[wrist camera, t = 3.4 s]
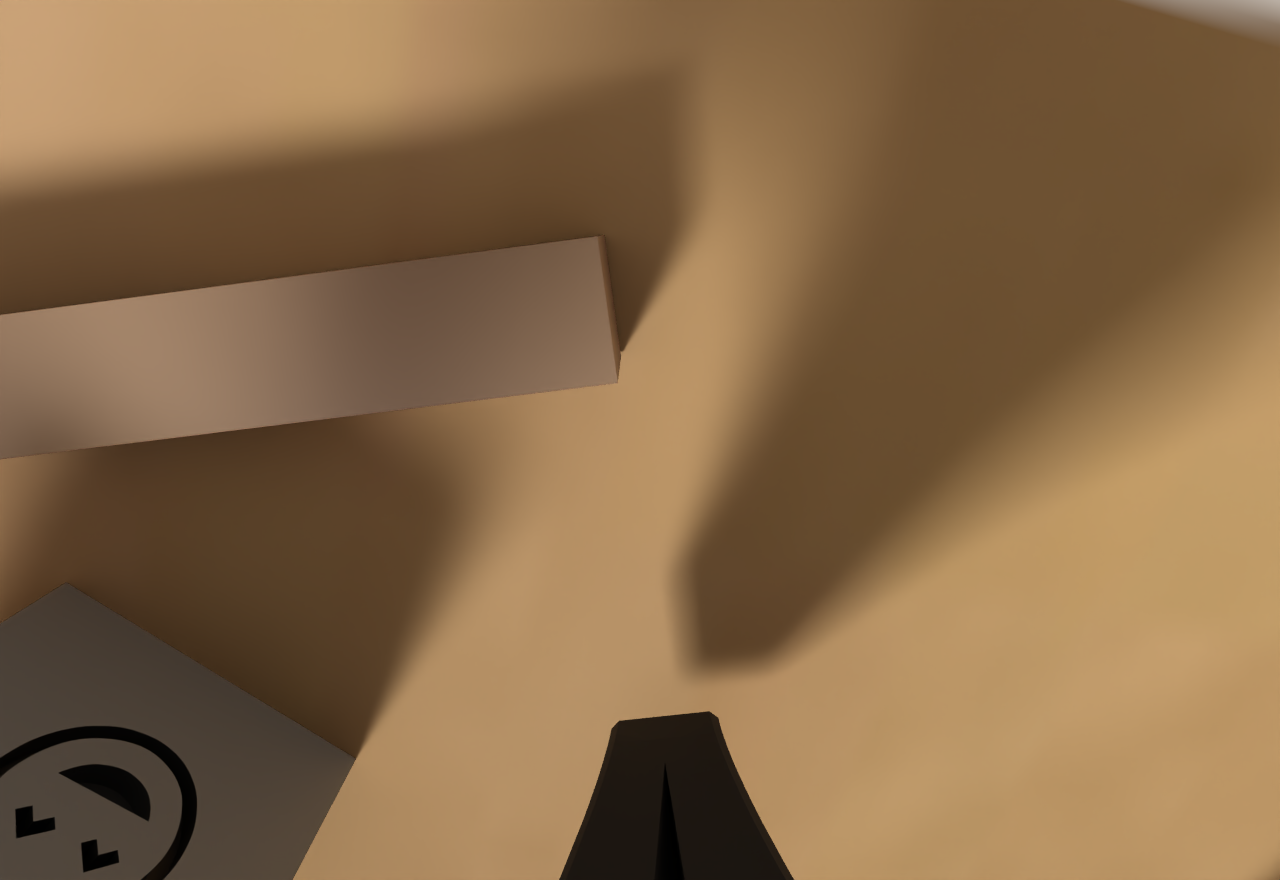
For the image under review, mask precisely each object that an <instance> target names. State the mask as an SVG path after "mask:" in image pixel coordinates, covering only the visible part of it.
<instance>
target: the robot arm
mask: <svg viewBox="0 0 1280 880" xmlns="http://www.w3.org/2000/svg"><path fill="white" fill-rule="evenodd" d="M559 880H794V879H793V877H792V875H791V874H790V872H789V870H788V869H787V867H786V865H785V863H784V861H783V859H782V858H781V856H780V854H779V852H778V850H777V848H776V847H775V845H774V843H773V841H772V839H771V838H770V836H769V834H768V832H767V830H766V828H765V827H764V825H763V823H762V821H761V819H760V817H759V815H758V813H757V811H756V809H755V807H754V805H753V803H752V801H751V799H750V797H749V795H748V793H747V791H746V789H745V787H744V785H743V782H742V780H741V778H740V776H739V774H738V772H737V769H736V767H735V765H734V762H733V760H732V758H731V755H730V753H729V750H728V748H727V745H726V742H725V739H724V736H723V733H722V730H721V727H720V723H719V719H718V717H716V716H715V715H714V714H712V713H711V712H699V713H690V714H680V715H671V716H661V717H652V718H642V719H633V720H623V721H619V722H618V723H617V724H616V725H615V726H614V727H613V728H612V730H611V734H610V739H609V743H608V747H607V750H606V754H605V757H604V761H603V764H602V768H601V771H600V774H599V777H598V780H597V783H596V786H595V789H594V792H593V794H592V797H591V800H590V803H589V806H588V809H587V811H586V814H585V817H584V820H583V822H582V825H581V827H580V830H579V832H578V835H577V837H576V840H575V842H574V845H573V847H572V850H571V852H570V855H569V857H568V860H567V862H566V865H565V867H564V870H563V872H562V875H561V877H560V879H559Z"/></svg>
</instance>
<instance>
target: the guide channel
mask: <svg viewBox="0 0 1280 880" xmlns="http://www.w3.org/2000/svg"><path fill="white" fill-rule="evenodd" d="M620 360H621V353H620V345H619V338H618V331H617V323H616V316H615V308H614V301H613V294H612V286H611V279H610V272H609V264H608V257H607V250H606V242H605V235H599V236H592V237H584V238H577V239H569V240H561V241H554V242H546V243H539V244H531V245H523V246H516V247H508V248H501V249H493V250H485V251H478V252H470V253H463V254H455V255H447V256H440V257H432V258H425V259H417V260H410V261H402V262H394V263H387V264H379V265H372V266H364V267H356V268H349V269H341V270H334V271H326V272H318V273H311V274H303V275H296V276H288V277H280V278H273V279H265V280H258V281H250V282H242V283H235V284H227V285H220V286H212V287H204V288H197V289H189V290H182V291H174V292H166V293H159V294H151V295H144V296H136V297H128V298H121V299H113V300H106V301H98V302H90V303H83V304H75V305H68V306H60V307H52V308H45V309H37V310H30V311H22V312H14V313H7V314H0V459H6V458H14V457H22V456H30V455H39V454H47V453H55V452H63V451H71V450H79V449H87V448H95V447H103V446H111V445H120V444H128V443H136V442H144V441H152V440H160V439H168V438H176V437H184V436H193V435H201V434H209V433H217V432H225V431H233V430H241V429H249V428H257V427H265V426H274V425H282V424H290V423H298V422H306V421H314V420H322V419H330V418H338V417H347V416H355V415H363V414H371V413H379V412H387V411H395V410H403V409H411V408H419V407H428V406H436V405H444V404H452V403H460V402H468V401H476V400H484V399H492V398H501V397H509V396H517V395H525V394H533V393H541V392H549V391H557V390H565V389H573V388H582V387H590V386H598V385H606V384H614V383H618V376H619V368H620Z"/></svg>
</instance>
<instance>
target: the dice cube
mask: <svg viewBox="0 0 1280 880" xmlns="http://www.w3.org/2000/svg"><path fill="white" fill-rule="evenodd" d="M355 760H356V759H355V758H354V757H352V756H350V755H349V754H347V753H346V752H344V751H342V750H341V749H339V748H337V747H336V746H334V745H332V744H331V743H329V742H327V741H326V740H324V739H323V738H321V737H319V736H318V735H316V734H314V733H313V732H311V731H309V730H308V729H306V728H304V727H303V726H301V725H300V724H298V723H296V722H295V721H293V720H291V719H290V718H288V717H286V716H285V715H283V714H281V713H280V712H278V711H277V710H275V709H273V708H272V707H270V706H268V705H267V704H265V703H263V702H262V701H260V700H258V699H257V698H255V697H254V696H252V695H250V694H249V693H247V692H245V691H244V690H242V689H240V688H239V687H237V686H235V685H234V684H232V683H231V682H229V681H227V680H226V679H224V678H222V677H221V676H219V675H217V674H216V673H214V672H212V671H211V670H209V669H207V668H206V667H204V666H203V665H201V664H199V663H198V662H196V661H194V660H193V659H191V658H189V657H188V656H186V655H184V654H183V653H181V652H180V651H178V650H176V649H175V648H173V647H171V646H170V645H168V644H166V643H165V642H163V641H161V640H160V639H158V638H157V637H155V636H153V635H152V634H150V633H148V632H147V631H145V630H143V629H142V628H140V627H138V626H137V625H135V624H134V623H132V622H130V621H129V620H127V619H125V618H124V617H122V616H120V615H119V614H117V613H115V612H114V611H112V610H111V609H109V608H107V607H106V606H104V605H102V604H101V603H99V602H97V601H96V600H94V599H92V598H91V597H89V596H88V595H86V594H84V593H83V592H81V591H79V590H78V589H76V588H74V587H73V586H71V585H69V584H68V583H64V584H63V585H61V586H60V587H58V588H56V589H55V590H53V591H52V592H50V593H48V594H47V595H45V596H44V597H42V598H40V599H39V600H37V601H36V602H34V603H32V604H31V605H29V606H28V607H26V608H24V609H23V610H21V611H20V612H18V613H16V614H15V615H13V616H12V617H10V618H8V619H7V620H5V621H3V622H2V623H0V880H293V878H294V876H295V874H296V872H297V870H298V868H299V866H300V864H301V863H302V861H303V859H304V857H305V855H306V853H307V851H308V849H309V847H310V845H311V844H312V842H313V840H314V838H315V836H316V834H317V832H318V830H319V828H320V826H321V824H322V823H323V821H324V819H325V817H326V815H327V813H328V811H329V809H330V807H331V805H332V804H333V802H334V800H335V798H336V796H337V794H338V792H339V790H340V788H341V786H342V785H343V783H344V781H345V779H346V777H347V775H348V773H349V771H350V769H351V767H352V766H353V764H354V762H355Z"/></svg>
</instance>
